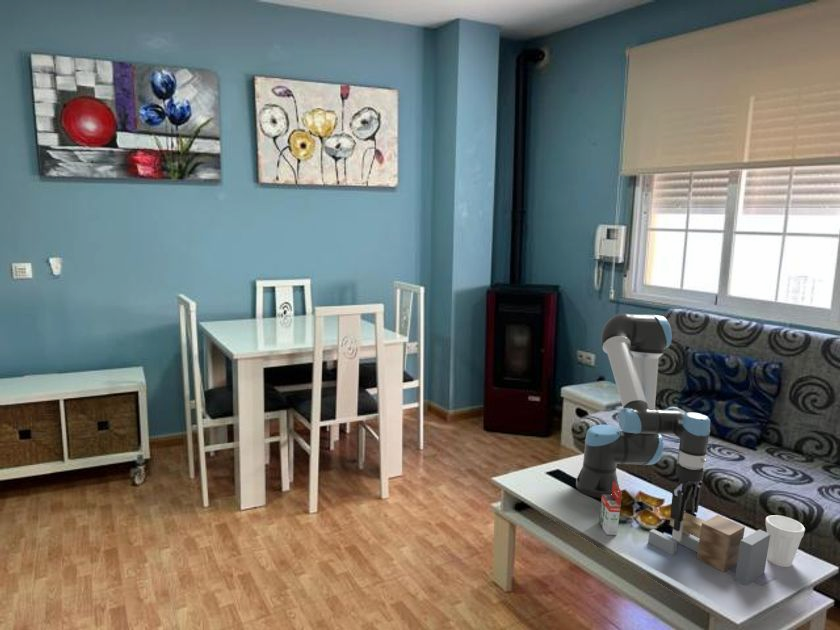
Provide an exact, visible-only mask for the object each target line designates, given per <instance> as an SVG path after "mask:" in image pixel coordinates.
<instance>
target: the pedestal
mask: <svg viewBox="0 0 840 630" xmlns="http://www.w3.org/2000/svg"><path fill="white" fill-rule="evenodd" d="M648 533H649V534H648V540H647V541H648V542H647V543H649V544H650V545H652V546H654V547H656V548H658V549H660V550H662V551H664V552H666V553H668V554H670V555H671V556H674V555H675V554H676V553H677V551H678V549H677V548H678V544H679V543H678V541H677V540H675V539H673V538H672V536H668V535H666V534H664V533H663V532H660V531H659V530H656V529H654V528H652V529H651V530H650V529H649V532H648Z"/></svg>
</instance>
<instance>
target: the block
mask: <svg viewBox="0 0 840 630" xmlns="http://www.w3.org/2000/svg"><path fill="white" fill-rule="evenodd" d="M704 521H705V522H703V523H702V525H701V532H700V539H699V538H698V539H699V546H698V552H696V553H697V555H696V559H697V560H698V561H701V562H703V563H704V564H707V565H709V566H710V567H713V568H715V569H716V570H719V571H720V572H723V573H725V572H726V571H729V570H731V568H733V567H734V566H737V561H738V555H739V548H740V542H741V540H742V539H744V535H745V529H746V526H744V525H741V524H739V523H737V522H735V521H732V520H731V519H727V518H725V517H723V516H721V515H718V514H717V515H715V516H713V517H710V518H709V519H706V520H704Z"/></svg>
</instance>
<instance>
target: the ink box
mask: <svg viewBox="0 0 840 630" xmlns="http://www.w3.org/2000/svg"><path fill="white" fill-rule="evenodd" d="M616 488H617V489H618V491H619V492H618V491H617V489H616ZM622 497H623V492H622V490H621V489H620V487H619V488H618V486H617V485H616V484H615V482H614V481H613V486H612V495H602V498H600V499H601V501H600V506H599V507H600V509H599V515H598V516H599V517H598V524H599V525H600V527H601V528H602V530H603V532H604V534H605V535H608V536H617V535H618V529H619V521H620V513H621V505H622Z"/></svg>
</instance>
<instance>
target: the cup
mask: <svg viewBox="0 0 840 630" xmlns="http://www.w3.org/2000/svg"><path fill="white" fill-rule="evenodd" d="M765 528H766V532H767V533H769V534H771V535H770V541H769V547H768V553H767V559H766V561H768V562H770V563H771V564H773V565H774V566H778V567H781V568H791V567H792V565H793V562H794V560H795V558H796V554H797V551H798V549H799V546H800V545H801V542H802V538H803V537H804V534H805V531H806V528H805V527H804V524H802V523H801V522H799V521H798V520H796V519H794V518H791V517H788V516H784V515H779V514H775V515H771V514H770V515H768V516H766V517H765Z"/></svg>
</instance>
